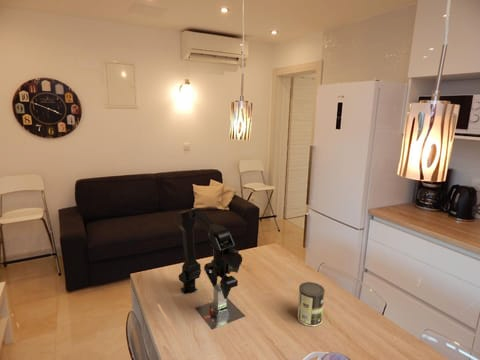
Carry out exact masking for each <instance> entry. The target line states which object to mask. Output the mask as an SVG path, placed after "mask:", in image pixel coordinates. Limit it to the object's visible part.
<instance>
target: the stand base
mask: <svg viewBox="0 0 480 360" xmlns="http://www.w3.org/2000/svg"><path fill="white" fill-rule="evenodd" d="M213 302H214V301H211V302H208V303H206V304H203V305H199V306H196V307H194V309H195V310H196V312H197V313H198V314H199V315H200V317H201V318H202V319H203V321H204V322H205V323H206V324H207V326H208V327H209V328H210V329H211V330H215V329H218V328H220V327H223V326H225V325H227V324H230V323H233V322H235V321H237V320H240V319H243V318H245V317H246V315H245V314H244V313H243V312H242V311H241V309H239V307H237V305H235V304H234V303H233V301H231V299H229V297H227V298H226V304H227V306H226V307H224V308H221V309H217V308H216V307H215V306H214V304H213Z"/></svg>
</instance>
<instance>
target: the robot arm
mask: <svg viewBox="0 0 480 360" xmlns="http://www.w3.org/2000/svg"><path fill="white" fill-rule="evenodd" d="M175 219H176V220H175V221H176V223H177V226H178V227H179V229H180V230H181V234H182V242H183V243H182V245H183V252H184V253H183V254H184V261H183V264H182V267H181V272H180V273H179V274H178V280H179V281H180V282H181V283H183V286H182V287H181V288H180V290H181V292H182V293H183V294H184V295H187V294H192V293H196V291H198V289H197V287H196V280H197V279H199V278H200V275H201V273H202V269H201V268H202V267H201V265H202V264H201V263H200V262H198V261H197V259H196V250H195V240H194V228H195V226H196V223H197V224H198V225H199V227H201V228H202V229H203V230H204V231H205V232H206V233H207V235H208V239H209V240H210V242H211V243H210V244H209V246H210V247H212V248H213V249H212V251H213V253H212V254H213V257H212V259H211V260H210V261H211V262H208V263H207V262H206V263H205V264H204V267H203V271H204V272H205V274H206V275H207V277H208V279H209V281H210V283H211V286H212V287H213V286H214V285H217V284H218V277H219V278H220V280H219V284H220V285H221V286H220V288H221V291H222V294H223V297H224V299H226V298H229V297H228V296H229V295H230V292H231V289H232V288H235V287H238V285H239V280H238V279H237V278H235V277H234V276H233V275H229V274H231V273H236V274H237V273H238V272H239V270H240V266H241V264H242V263H243V256H242V254H241V253H239V250H237V249H234V247H236V245H235V241H234V239H233V237H232V234H231V233H230V230H229V229H228V228H227V227H224V226H223V225H220V224H216V223H215V222H214V221H213V220H212V219H211V218H210V216H208V215H206V214H205V213H204V212H203V211H202V209H201V208H199V207H196V208H191V209H190V210H189V209H188V210H185V211H180V212H178V213H177V215H176V218H175Z"/></svg>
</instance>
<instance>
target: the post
mask: <svg viewBox="0 0 480 360" xmlns="http://www.w3.org/2000/svg"><path fill="white" fill-rule="evenodd" d="M220 286H221V285H220V283H217V285H214V286H213V285H212V287H213V301H212V302H213V304H214V306H215V307H216V308H217V309H221V308H224V307H226V306H227V304H226V299H224V297H223V294H222V291H221V288H220Z"/></svg>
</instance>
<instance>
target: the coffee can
mask: <svg viewBox="0 0 480 360" xmlns="http://www.w3.org/2000/svg"><path fill="white" fill-rule="evenodd" d="M298 290H299V291H298V305H297V306H298V307H297V319H298V321H299V323H301V324H302V325H305V326H307V327H313V328H314V327H319V326H320V325H321V324H322V322H323V309H324V298H325V292H326V291H325V288H324V286H322V285H321V284H320V283H316V282H313V281H312V282H311V281H306V282H303V283H301V284H300V285H299V287H298Z"/></svg>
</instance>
